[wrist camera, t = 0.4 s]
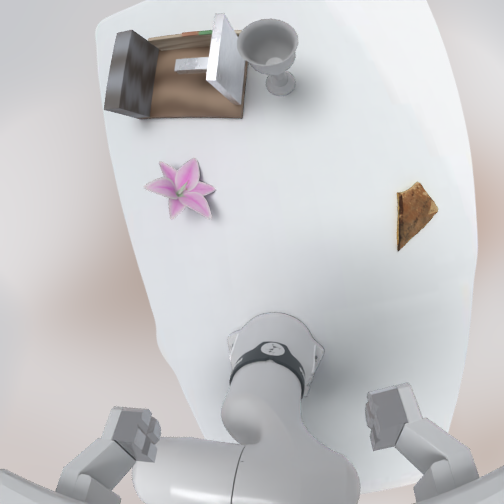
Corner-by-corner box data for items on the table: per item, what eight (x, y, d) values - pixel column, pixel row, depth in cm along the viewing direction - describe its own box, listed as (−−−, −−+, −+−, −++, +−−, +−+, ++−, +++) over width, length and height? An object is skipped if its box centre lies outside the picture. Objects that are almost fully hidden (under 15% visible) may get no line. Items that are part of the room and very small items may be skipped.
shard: (395, 249, 51) (398, 252, 50) (369, 217, 51) (371, 219, 49) (437, 209, 48) (441, 210, 46) (412, 176, 48) (415, 176, 46)
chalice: (263, 104, 49) (242, 72, 32) (255, 69, 48) (231, 26, 30) (305, 96, 47) (304, 59, 30) (297, 61, 46) (291, 14, 29)
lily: (221, 225, 56) (225, 210, 47) (156, 237, 54) (148, 224, 45) (209, 165, 58) (211, 141, 49) (148, 176, 56) (139, 154, 46)
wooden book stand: (242, 118, 50) (224, 103, 39) (139, 119, 53) (103, 109, 42) (249, 45, 47) (234, 16, 35) (149, 52, 49) (117, 31, 38)
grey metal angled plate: (240, 105, 48) (215, 79, 33) (190, 104, 49) (149, 83, 35) (246, 46, 45) (225, 6, 31) (197, 48, 46) (162, 13, 32)
